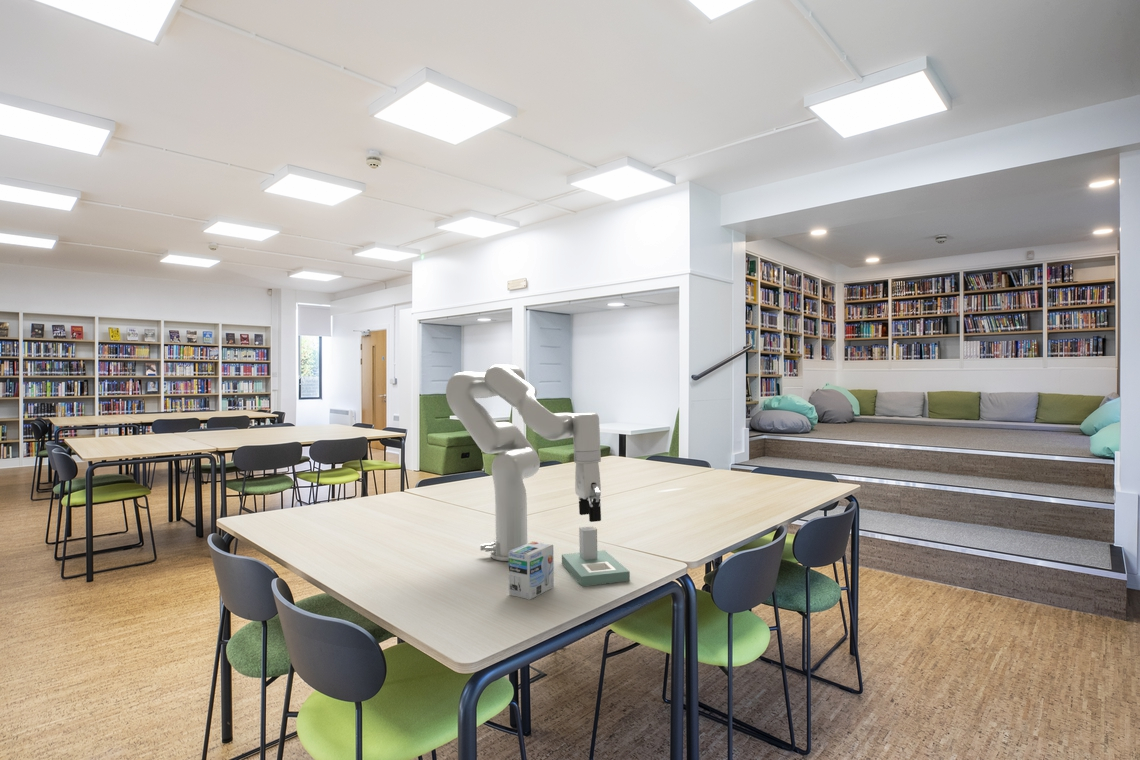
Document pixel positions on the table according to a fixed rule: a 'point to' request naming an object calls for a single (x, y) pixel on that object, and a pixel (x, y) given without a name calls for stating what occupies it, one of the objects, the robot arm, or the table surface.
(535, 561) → the light bulb box
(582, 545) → the plug
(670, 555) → the table surface
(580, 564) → the board
